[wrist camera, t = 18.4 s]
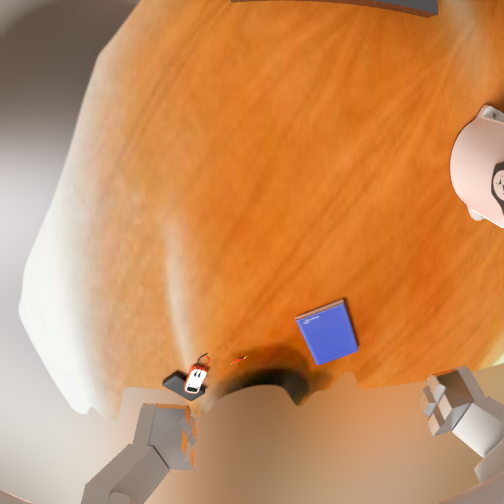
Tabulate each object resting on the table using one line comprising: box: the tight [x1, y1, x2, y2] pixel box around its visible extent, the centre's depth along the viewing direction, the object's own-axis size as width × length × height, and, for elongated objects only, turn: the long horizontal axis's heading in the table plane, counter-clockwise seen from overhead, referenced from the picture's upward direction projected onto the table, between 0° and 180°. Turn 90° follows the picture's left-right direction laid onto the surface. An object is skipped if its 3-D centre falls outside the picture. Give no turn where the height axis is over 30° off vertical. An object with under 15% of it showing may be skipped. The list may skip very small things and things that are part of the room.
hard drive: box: [295, 299, 358, 365], centre depth 53 cm, size 2×8×12 cm
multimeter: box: [163, 353, 245, 401], centre depth 55 cm, size 18×12×3 cm, turn 130°
